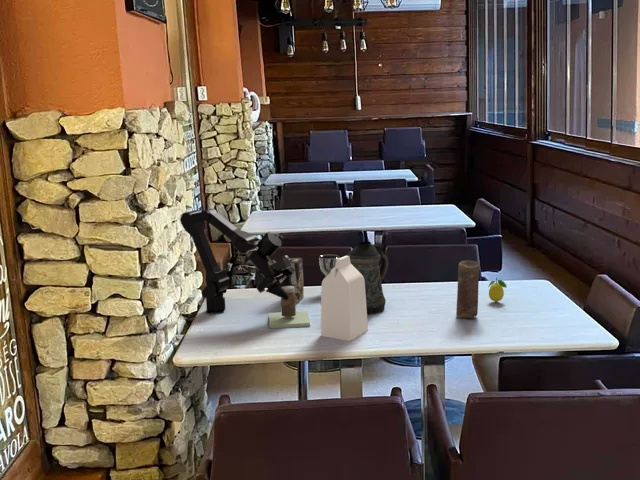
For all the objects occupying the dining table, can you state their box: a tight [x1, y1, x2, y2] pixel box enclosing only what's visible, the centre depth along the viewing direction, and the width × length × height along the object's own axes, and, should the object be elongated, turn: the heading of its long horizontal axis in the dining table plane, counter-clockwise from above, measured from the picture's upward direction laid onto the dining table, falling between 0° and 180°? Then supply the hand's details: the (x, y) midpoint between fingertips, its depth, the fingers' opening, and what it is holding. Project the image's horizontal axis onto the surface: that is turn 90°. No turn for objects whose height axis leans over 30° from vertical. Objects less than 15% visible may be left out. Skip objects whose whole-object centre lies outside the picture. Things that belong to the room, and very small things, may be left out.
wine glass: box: [318, 254, 340, 277], centre depth 288 cm, size 8×8×15 cm
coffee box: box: [288, 257, 305, 304], centre depth 279 cm, size 9×6×16 cm
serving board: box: [268, 310, 311, 329], centre depth 254 cm, size 14×14×1 cm
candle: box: [455, 259, 480, 320], centre depth 251 cm, size 8×7×20 cm
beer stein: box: [346, 241, 389, 316], centre depth 266 cm, size 16×19×25 cm
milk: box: [320, 255, 369, 342], centre depth 237 cm, size 12×12×26 cm
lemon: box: [488, 277, 508, 303], centre depth 269 cm, size 7×6×10 cm
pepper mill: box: [280, 286, 297, 317], centre depth 253 cm, size 5×5×10 cm
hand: (291, 297), depth 252 cm, fingers closed on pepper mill, 5 cm apart
